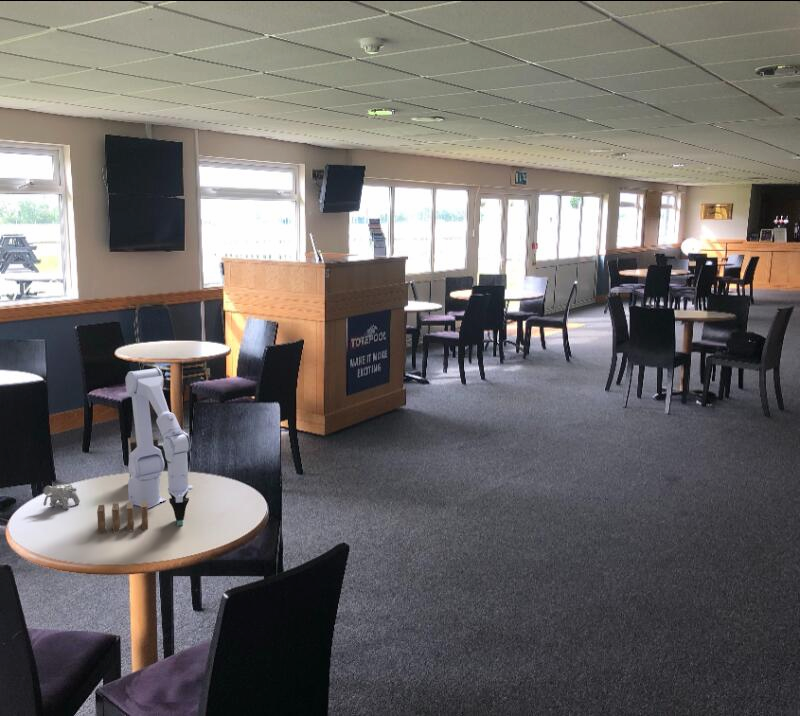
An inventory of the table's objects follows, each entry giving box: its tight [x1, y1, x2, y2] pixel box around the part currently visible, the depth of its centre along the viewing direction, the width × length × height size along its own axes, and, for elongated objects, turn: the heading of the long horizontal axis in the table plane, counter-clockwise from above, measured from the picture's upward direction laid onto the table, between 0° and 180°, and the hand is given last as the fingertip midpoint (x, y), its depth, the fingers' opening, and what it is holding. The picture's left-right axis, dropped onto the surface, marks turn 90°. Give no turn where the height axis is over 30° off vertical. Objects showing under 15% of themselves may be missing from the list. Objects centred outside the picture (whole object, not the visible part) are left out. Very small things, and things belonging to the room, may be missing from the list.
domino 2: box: [111, 502, 121, 533], centre depth 223 cm, size 2×5×7 cm, turn 17°
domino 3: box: [126, 501, 135, 532], centre depth 224 cm, size 2×5×7 cm, turn 17°
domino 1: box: [96, 504, 107, 535], centre depth 222 cm, size 2×5×7 cm, turn 17°
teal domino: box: [176, 520, 184, 527], centre depth 228 cm, size 2×5×7 cm, turn 17°
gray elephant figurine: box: [43, 483, 81, 510], centre depth 237 cm, size 9×12×8 cm
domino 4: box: [140, 501, 149, 530], centre depth 225 cm, size 2×5×7 cm, turn 17°
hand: (179, 516), depth 228 cm, fingers closed on teal domino, 5 cm apart
